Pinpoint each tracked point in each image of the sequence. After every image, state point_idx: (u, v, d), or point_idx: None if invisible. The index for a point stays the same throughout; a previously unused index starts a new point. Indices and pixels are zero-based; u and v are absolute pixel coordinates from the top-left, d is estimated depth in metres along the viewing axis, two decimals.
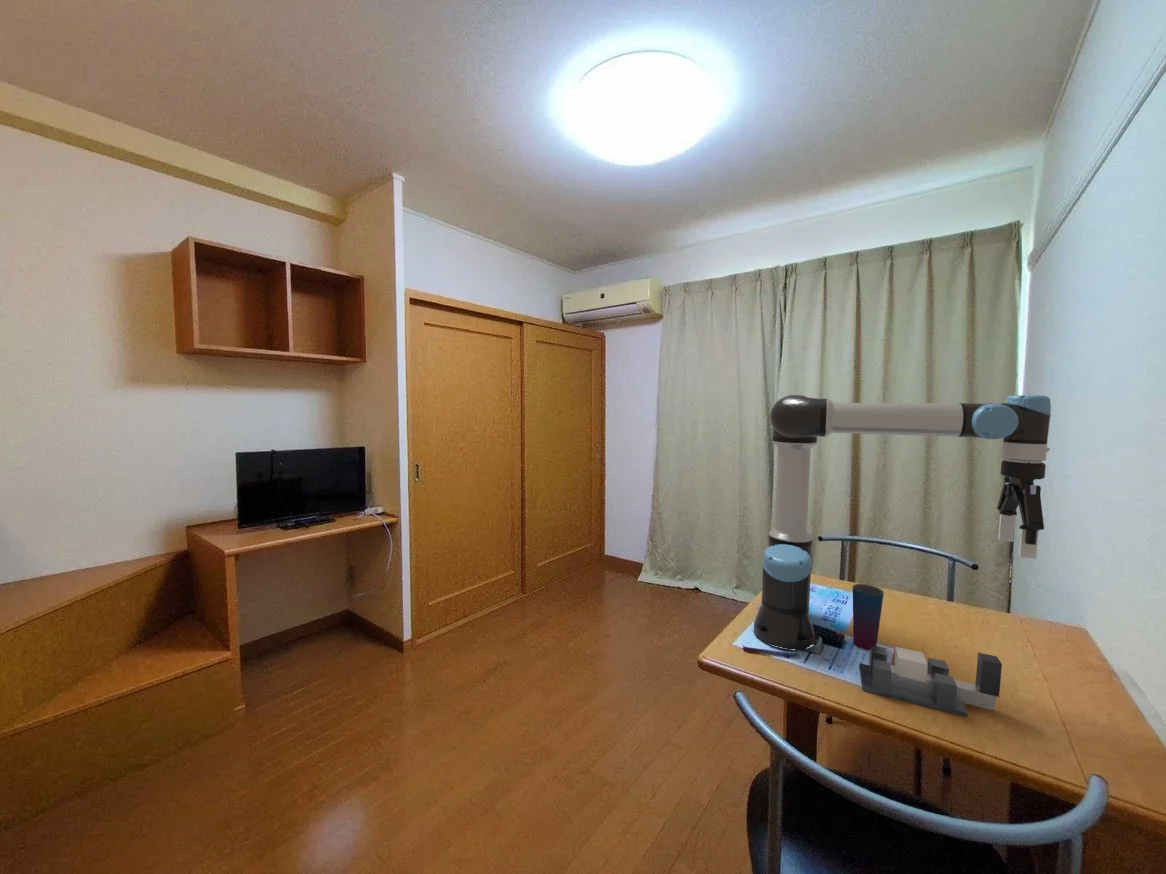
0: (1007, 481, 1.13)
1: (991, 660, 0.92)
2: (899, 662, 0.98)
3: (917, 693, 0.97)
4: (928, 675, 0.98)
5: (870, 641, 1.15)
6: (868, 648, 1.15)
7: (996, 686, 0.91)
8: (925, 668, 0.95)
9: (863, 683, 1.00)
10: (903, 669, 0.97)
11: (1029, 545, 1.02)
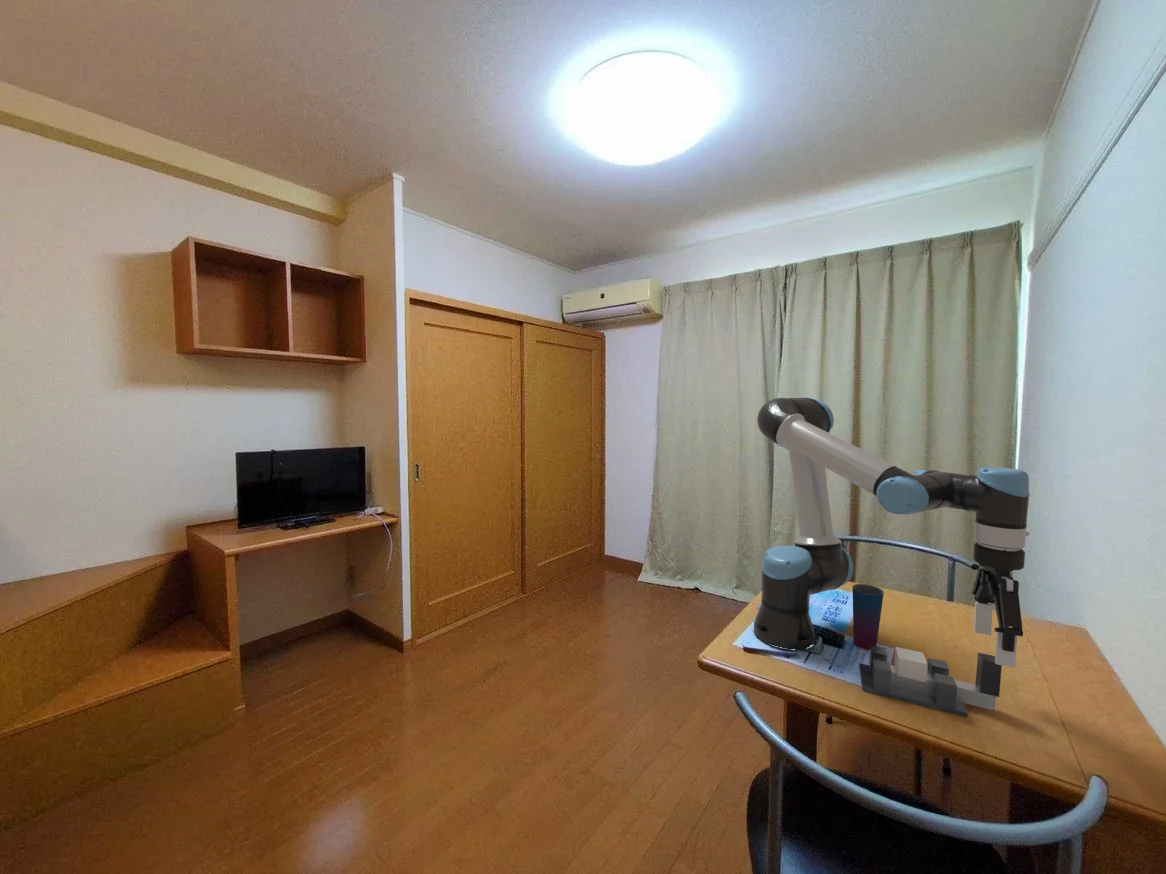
0: (982, 564, 0.96)
1: (991, 660, 0.92)
2: (899, 662, 0.98)
3: (917, 693, 0.97)
4: (928, 675, 0.98)
5: (870, 641, 1.15)
6: (868, 648, 1.15)
7: (996, 686, 0.91)
8: (925, 668, 0.95)
9: (863, 683, 1.00)
10: (903, 669, 0.97)
11: (1007, 651, 0.85)
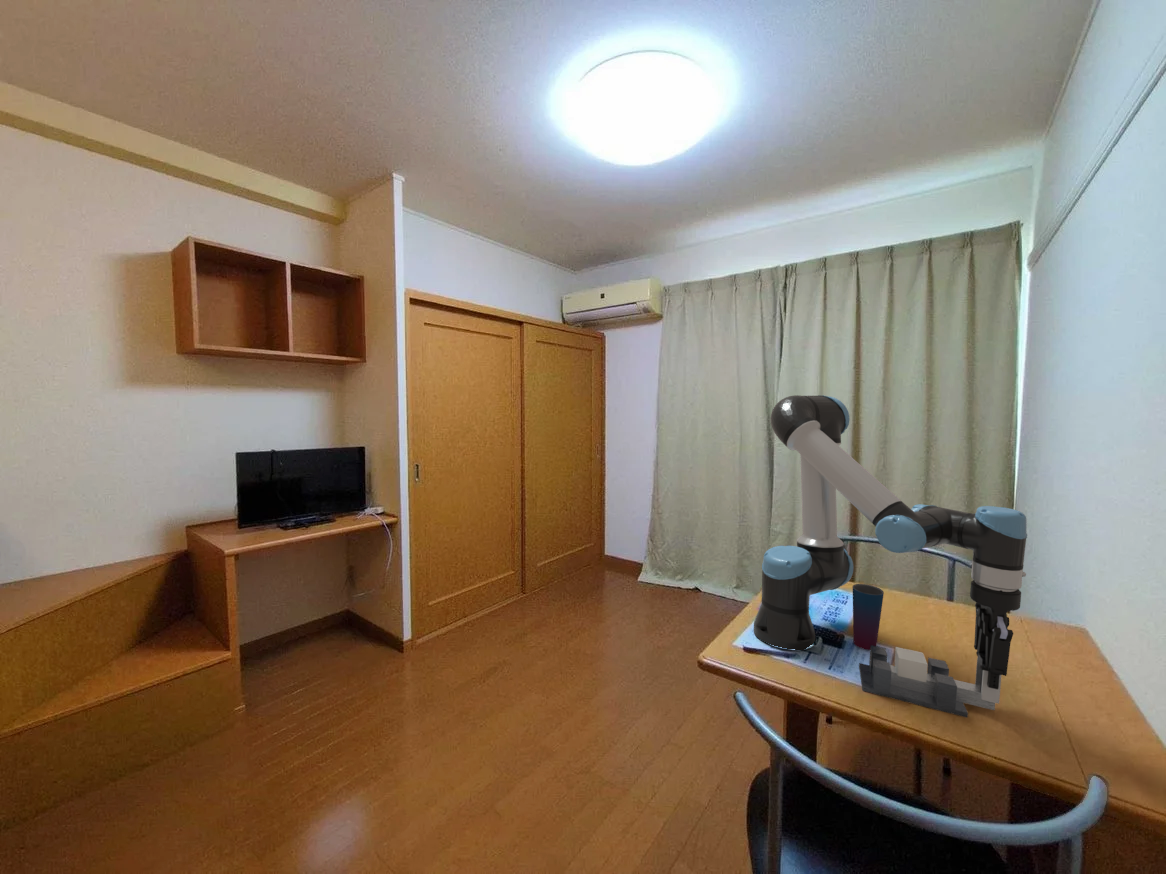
0: (979, 608, 0.97)
1: None
2: (899, 662, 0.98)
3: (917, 693, 0.97)
4: (928, 675, 0.98)
5: (870, 641, 1.15)
6: (868, 648, 1.15)
7: None
8: (925, 668, 0.95)
9: (863, 683, 1.00)
10: (903, 669, 0.97)
11: (991, 688, 0.91)
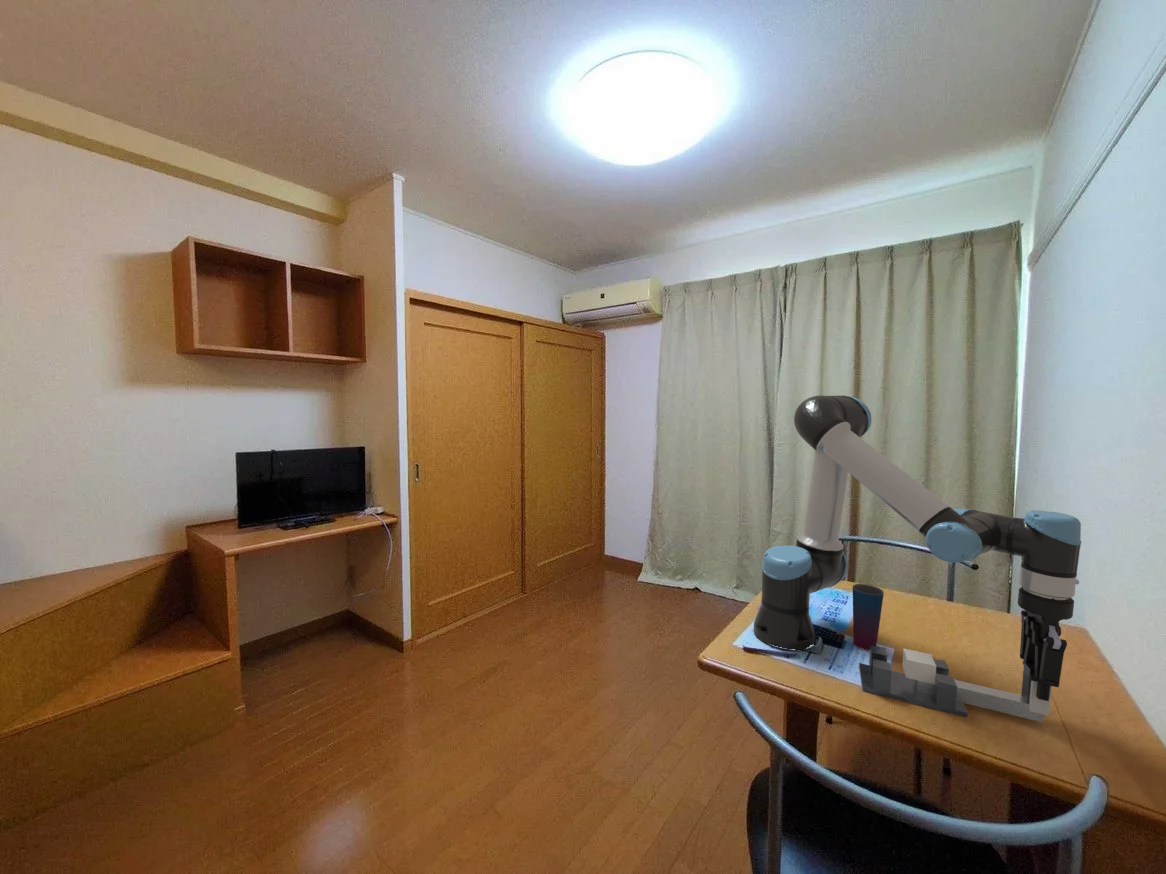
0: (1025, 615, 0.93)
1: None
2: (907, 664, 0.97)
3: (917, 693, 0.97)
4: (971, 685, 0.95)
5: (870, 641, 1.15)
6: (868, 648, 1.15)
7: None
8: (934, 670, 0.95)
9: (863, 683, 1.00)
10: (912, 671, 0.97)
11: (1041, 699, 0.87)
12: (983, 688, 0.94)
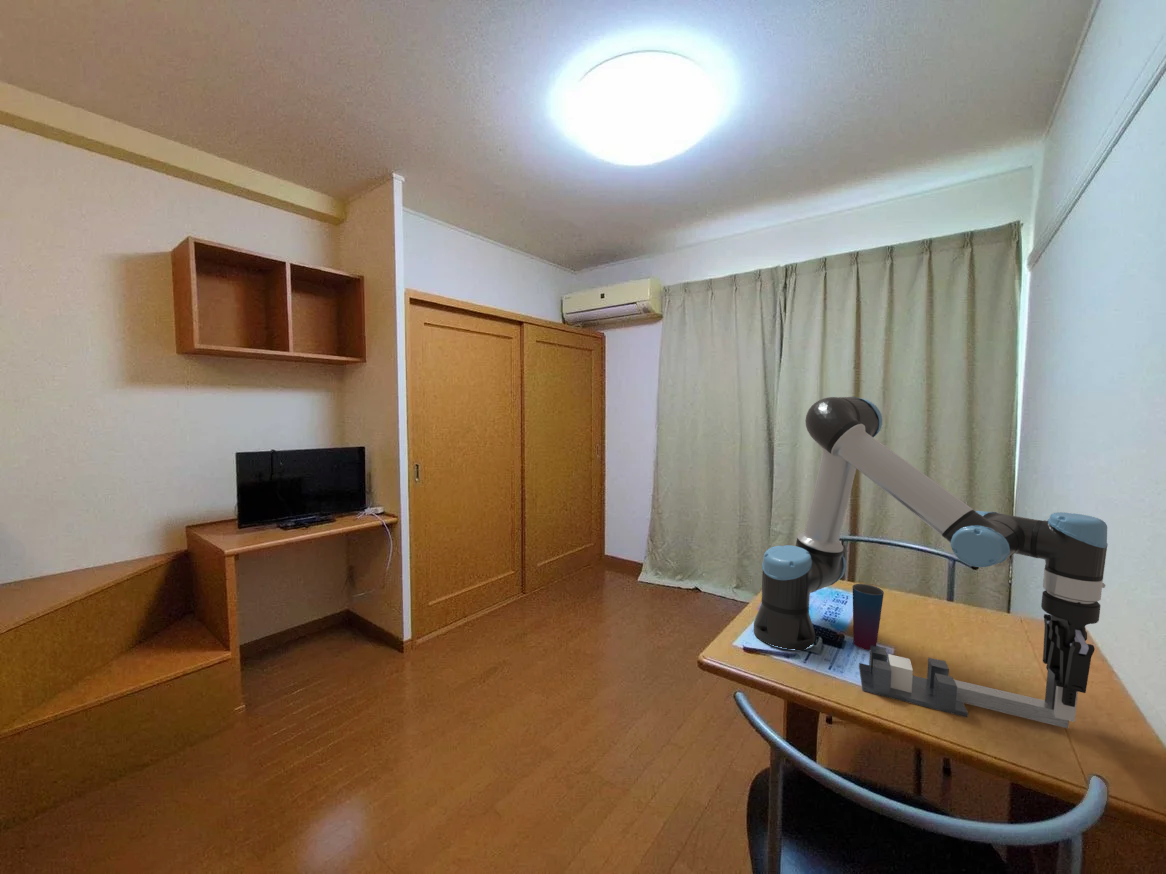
0: (1048, 619, 0.92)
1: None
2: (894, 687, 0.98)
3: (917, 693, 0.97)
4: (993, 690, 0.93)
5: (870, 641, 1.15)
6: (868, 648, 1.15)
7: None
8: (895, 667, 0.98)
9: (863, 683, 1.00)
10: (902, 686, 0.97)
11: (1066, 705, 0.86)
12: (1005, 693, 0.92)
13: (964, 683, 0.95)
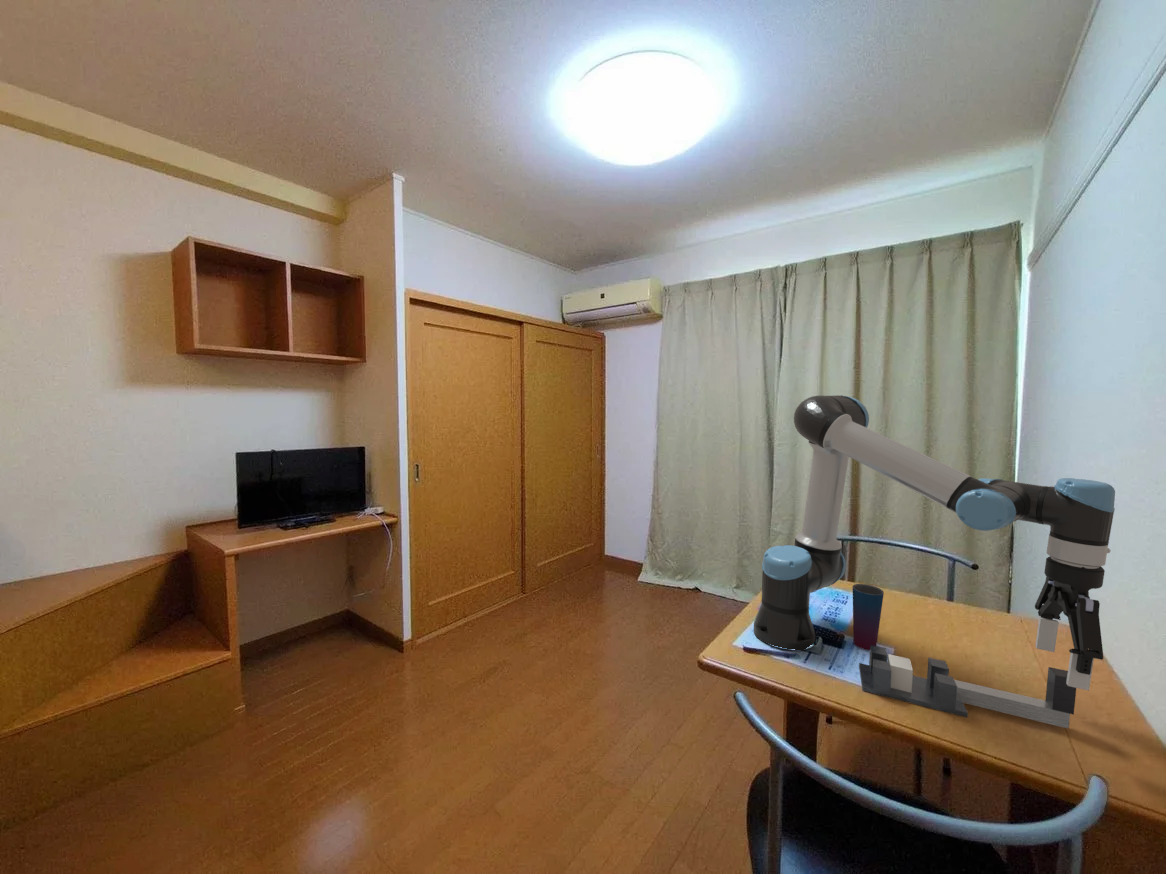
0: (1050, 579, 0.91)
1: (1064, 675, 0.87)
2: (894, 687, 0.98)
3: (917, 693, 0.97)
4: (993, 690, 0.93)
5: (870, 641, 1.15)
6: (868, 648, 1.15)
7: (1070, 703, 0.86)
8: (895, 667, 0.98)
9: (863, 683, 1.00)
10: (902, 686, 0.97)
11: (1081, 673, 0.81)
12: (1006, 693, 0.92)
13: (964, 684, 0.95)
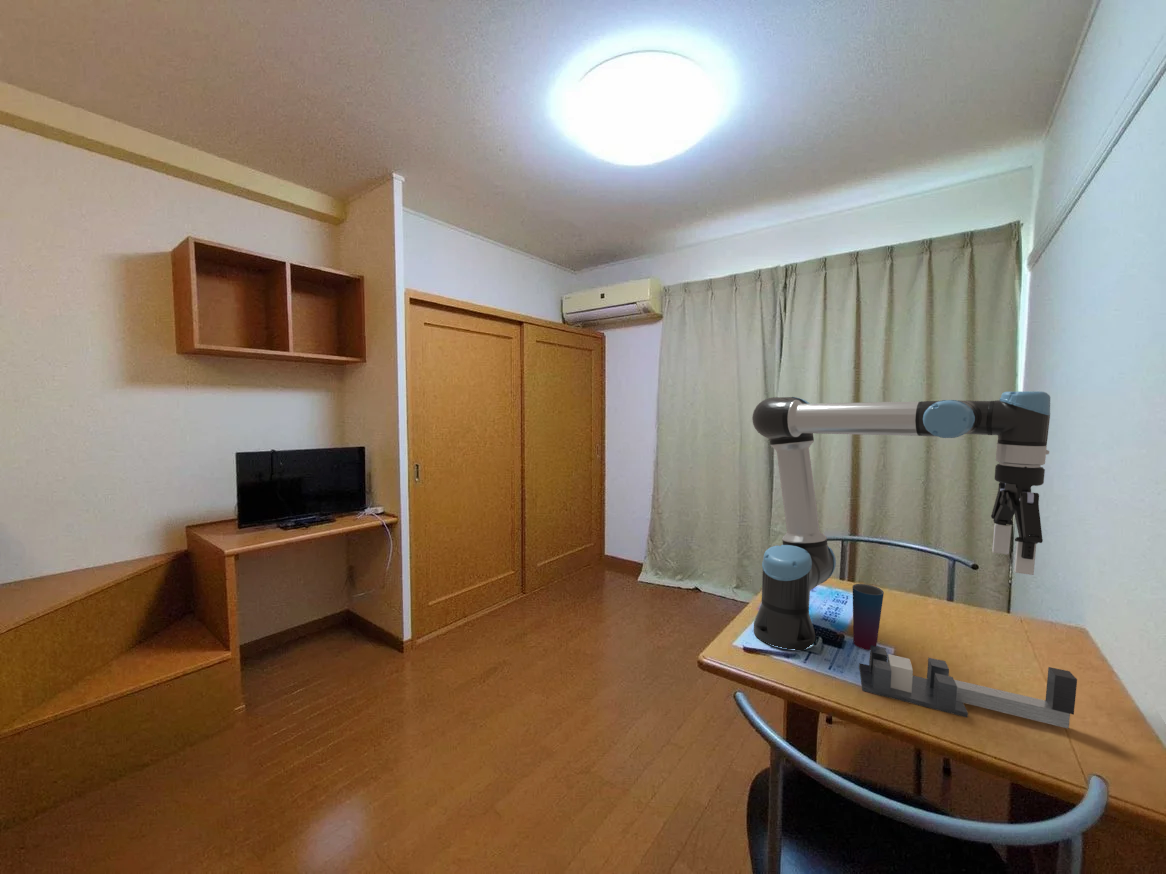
0: (1002, 487, 1.01)
1: (1064, 675, 0.87)
2: (894, 687, 0.98)
3: (917, 693, 0.97)
4: (993, 690, 0.93)
5: (870, 641, 1.15)
6: (868, 648, 1.15)
7: (1070, 703, 0.86)
8: (895, 667, 0.98)
9: (863, 683, 1.00)
10: (902, 686, 0.97)
11: (1026, 560, 0.91)
12: (1006, 693, 0.92)
13: (964, 684, 0.95)
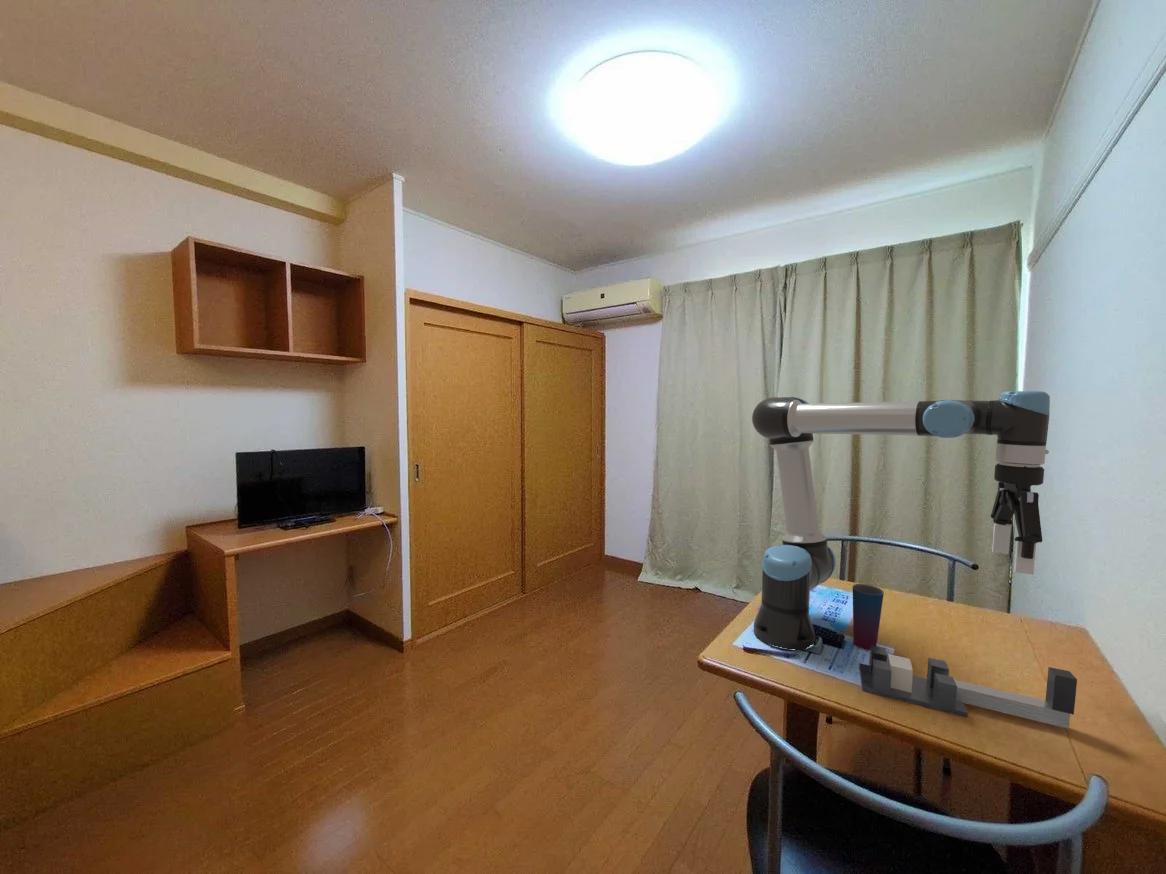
0: (1002, 487, 1.02)
1: (1064, 675, 0.87)
2: (894, 687, 0.98)
3: (917, 693, 0.97)
4: (993, 690, 0.93)
5: (870, 641, 1.15)
6: (868, 648, 1.15)
7: (1070, 703, 0.86)
8: (895, 667, 0.98)
9: (863, 683, 1.00)
10: (902, 686, 0.97)
11: (1026, 559, 0.91)
12: (1006, 693, 0.92)
13: (964, 684, 0.95)
